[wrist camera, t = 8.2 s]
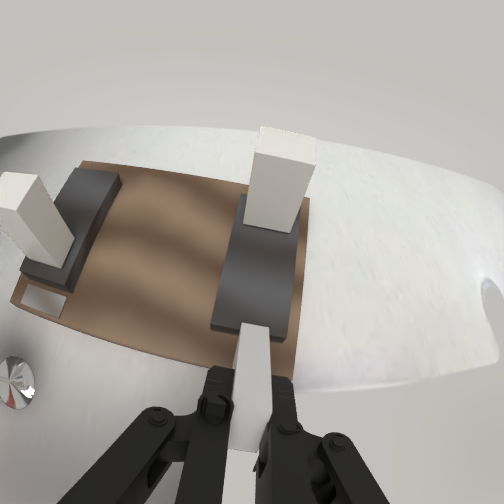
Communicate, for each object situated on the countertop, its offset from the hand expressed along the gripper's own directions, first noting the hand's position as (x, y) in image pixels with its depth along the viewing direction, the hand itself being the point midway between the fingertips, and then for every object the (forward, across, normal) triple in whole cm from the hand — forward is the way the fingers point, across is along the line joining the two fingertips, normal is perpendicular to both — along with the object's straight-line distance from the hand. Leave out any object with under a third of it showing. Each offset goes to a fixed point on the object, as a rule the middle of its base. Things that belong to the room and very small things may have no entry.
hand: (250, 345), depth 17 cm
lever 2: (+12, 0, +6) cm, 13 cm away
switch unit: (+11, -9, 0) cm, 14 cm away
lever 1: (+7, -18, 0) cm, 19 cm away
